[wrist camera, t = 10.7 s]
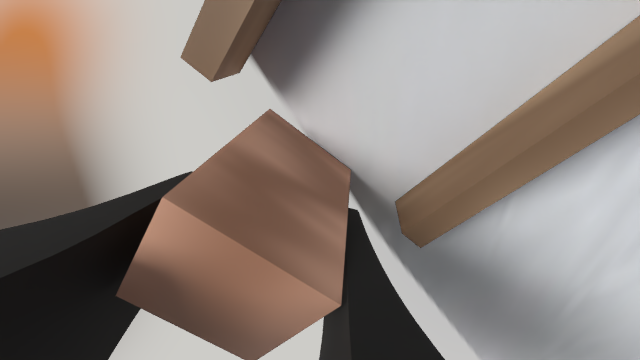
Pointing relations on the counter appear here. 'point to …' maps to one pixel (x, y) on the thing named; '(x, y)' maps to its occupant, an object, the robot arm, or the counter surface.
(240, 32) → the walnut channel
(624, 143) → the counter surface
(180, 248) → the terracotta block
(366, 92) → the counter surface
